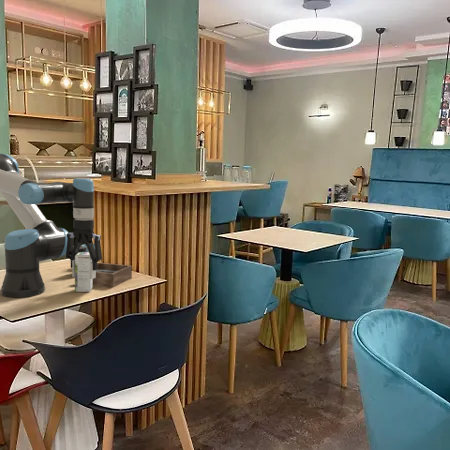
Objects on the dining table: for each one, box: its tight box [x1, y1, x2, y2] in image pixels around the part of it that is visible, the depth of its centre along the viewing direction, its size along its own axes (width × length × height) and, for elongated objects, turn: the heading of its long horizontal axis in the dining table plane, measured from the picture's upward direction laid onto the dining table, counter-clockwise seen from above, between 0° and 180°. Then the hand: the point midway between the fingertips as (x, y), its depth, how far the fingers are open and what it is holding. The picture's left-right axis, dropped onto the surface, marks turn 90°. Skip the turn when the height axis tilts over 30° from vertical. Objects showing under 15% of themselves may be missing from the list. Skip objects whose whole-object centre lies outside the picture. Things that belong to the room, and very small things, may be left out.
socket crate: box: [93, 262, 133, 288], centre depth 191 cm, size 16×16×6 cm
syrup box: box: [74, 252, 94, 293], centre depth 175 cm, size 6×6×14 cm
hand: (84, 277), depth 175 cm, fingers closed on syrup box, 7 cm apart
